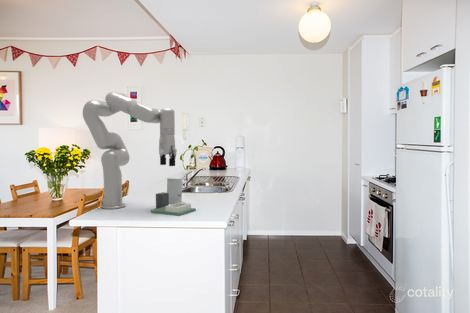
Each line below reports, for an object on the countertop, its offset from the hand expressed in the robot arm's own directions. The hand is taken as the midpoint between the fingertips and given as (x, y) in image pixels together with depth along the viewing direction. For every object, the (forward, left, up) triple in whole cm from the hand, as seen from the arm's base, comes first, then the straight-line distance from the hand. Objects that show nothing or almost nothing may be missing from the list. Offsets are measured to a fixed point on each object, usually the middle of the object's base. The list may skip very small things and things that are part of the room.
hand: (167, 165), depth 198 cm
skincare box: (-10, +19, -24) cm, 32 cm away
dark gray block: (-7, +4, -24) cm, 25 cm away
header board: (+5, -2, -24) cm, 24 cm away
